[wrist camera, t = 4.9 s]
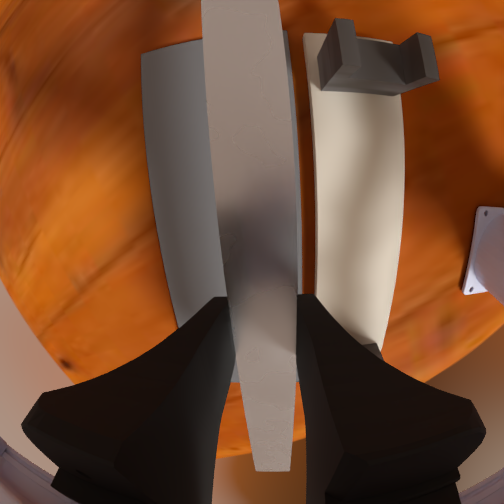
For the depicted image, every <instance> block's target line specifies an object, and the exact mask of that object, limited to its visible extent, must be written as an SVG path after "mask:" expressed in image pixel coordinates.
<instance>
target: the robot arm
mask: <svg viewBox="0 0 504 504" xmlns="http://www.w3.org/2000/svg"><path fill="white" fill-rule="evenodd" d="M484 212H485V214H484ZM470 288H471V289H470ZM486 291H489V292H490V293H491V294H492V295H493V296H494V297H495V298H496V299H497V300H498V301H499V302H500V303H501V304H502V305H504V208H501V207H487V206H479V207H478V208H477V211H476V219H475V227H474V234H473V240H472V246H471V251H470V257H469V262H468V266H467V271H466V275H465V279H464V283H463V287H462V293H463V294H464V295H469V294H475V293H480V292H486ZM235 358H236V353H235V347H234V340H233V333H232V326H231V319H230V312H229V305H228V300H227V296H225V297H213V298H212V299H211V300H210V301H209V302H208V303H206V304H205V305H204V306H203V307H202V308H201V309H200V310H199V311H198V312H197V313H196V314H195V315H193V316H192V317H191V318H190V319H189V320H188V321H187V322H186V323H185V324H183V325H182V326H181V327H180V328H178V329H177V330H176V331H175V332H173V333H172V334H171V335H170V336H168V337H167V338H166V339H165V340H163V341H162V342H161V343H159V344H158V345H156V346H155V347H153V348H152V349H150V350H149V351H147V352H146V353H144V354H142V355H141V356H139V357H137V358H136V359H134V360H132V361H130V362H128V363H126V364H124V365H122V366H120V367H118V368H116V369H114V370H112V371H110V372H108V373H106V374H103V375H101V376H98V377H96V378H93V379H91V380H88V381H85V382H82V383H79V384H76V385H73V386H69V387H65V388H61V389H57V390H53V391H49V392H44V393H42V395H41V396H40V397H39V399H38V400H37V401H36V403H35V404H34V406H33V407H32V409H31V410H30V412H29V413H28V415H27V416H26V418H25V419H24V421H23V422H22V424H21V426H22V429H23V431H24V433H25V435H26V436H27V437H28V438H29V439H30V440H31V442H32V443H33V444H34V445H35V446H36V447H37V448H38V449H39V450H40V451H42V453H44V454H45V455H46V456H47V457H48V458H49V459H50V460H51V461H52V462H53V463H55V464H56V465H57V466H58V467H59V469H58V471H57V473H56V475H55V476H53V475H51V474H49V473H48V472H46V471H45V470H43V469H41V468H40V467H38V466H37V465H35V464H34V463H32V462H31V461H29V460H28V459H26V458H25V457H23V456H22V455H21V454H19V453H18V452H16V451H15V450H14V449H12V448H11V447H10V446H9V445H7V443H6V442H5V441H4V440H3V439H2V438H1V437H0V504H212V490H213V479H214V468H215V460H216V451H217V443H218V435H219V428H220V422H221V417H222V413H223V409H224V405H225V401H226V398H227V394H228V390H229V386H230V382H231V378H232V374H233V370H234V366H235ZM296 365H297V372H298V378H299V384H300V390H301V396H302V402H303V409H304V415H305V425H306V455H307V456H306V462H307V483H306V485H307V486H306V487H307V488H306V504H504V468H502V469H501V470H499V471H498V472H496V473H495V474H493V475H491V476H490V477H488V478H486V479H485V480H483V481H481V482H479V483H478V484H476V485H474V486H472V487H470V488H468V489H467V490H464V491H462V492H460V493H458V490H457V487H456V483H455V482H457V481H458V480H459V479H460V474H459V471H458V468H457V467H458V466H460V465H461V464H462V463H463V462H464V461H465V460H466V459H467V458H468V457H469V456H470V455H471V454H472V453H473V452H474V451H475V450H476V449H477V448H478V446H479V445H480V444H481V443H482V441H483V439H484V437H485V435H486V428H485V426H484V424H483V422H482V420H481V418H480V416H479V414H478V412H477V410H476V408H475V407H474V405H473V403H472V402H471V400H469V399H466V398H463V397H460V396H456V395H453V394H450V393H447V392H444V391H441V390H439V389H436V388H434V387H432V386H429V385H427V384H425V383H423V382H420V381H418V380H416V379H414V378H412V377H410V376H408V375H406V374H405V373H403V372H401V371H399V370H398V369H396V368H394V367H393V366H391V365H389V364H388V363H386V362H385V361H383V360H382V359H380V358H379V357H377V356H376V355H375V354H373V353H372V352H371V351H369V350H368V349H367V348H365V347H364V346H363V345H361V344H360V343H359V342H358V341H357V340H356V339H355V338H353V337H352V336H351V335H350V334H349V333H348V332H347V331H346V330H345V329H344V328H343V327H342V326H341V325H340V324H339V323H338V322H337V321H336V320H335V318H334V317H333V316H332V315H331V314H330V313H329V312H328V311H327V309H326V308H325V307H324V306H323V305H322V303H321V302H320V301H319V300H318V298H317V297H316V296H315V295H314V294H298V299H297V324H296Z"/></svg>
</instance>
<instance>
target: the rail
mask: <svg viewBox="0 0 504 504" xmlns="http://www.w3.org/2000/svg"><path fill="white" fill-rule="evenodd" d="M201 10H202V34H203V54H204V71H205V87H206V101H207V114H208V126H209V138H210V150H211V161H212V171H213V181H214V191H215V201H216V210H217V219H218V228H219V236H220V245H221V253H222V261H223V269H224V277H225V285H226V292H227V300H228V305H229V312H230V319H231V326H232V333H233V340H234V347H235V353H236V361H237V368H238V374H239V380H240V386H241V392H242V398H243V404H244V410H245V416H246V421H247V427H248V432H249V438H250V443H251V449H252V454H253V459H254V464H255V469H256V471H290V462H291V450H292V437H293V423H294V407H295V388H296V324H297V299H298V253H297V212H296V187H295V167H294V150H293V134H292V121H291V108H290V97H289V86H288V76H287V66H286V57H285V48H284V40H283V32H282V24H281V17H280V10H279V3H278V0H201Z"/></svg>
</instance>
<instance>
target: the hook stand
mask: <svg viewBox="0 0 504 504" xmlns="http://www.w3.org/2000/svg"><path fill="white" fill-rule="evenodd" d="M302 40H303V47H304V55H305V63H306V72H307V81H308V91H309V102H310V114H311V127H312V142H313V160H314V185H315V291H314V295H315V296H316V297H317V298H318V300H319V301H320V302H321V303H322V305H323V306H324V307H325V308H326V309H327V311H328V312H329V313H330V314H331V315H332V316H333V317H334V318H335V320H336V321H337V322H338V323H339V324H340V325H341V326H342V327H343V328H344V329H345V330H346V331H347V332H348V333H349V334H350V335H351V336H352V337H353V338H355V339H356V340H357V341H358V342H359V343H360V344H361V345H363V346H364V347H365V348H367V349H368V350H369V351H371V352H372V353H373V354H375V355H376V356H377V357H379V358H380V359H382V360H383V357H382V355H381V348H382V344H383V340H384V336H385V332H386V328H387V323H388V319H389V314H390V309H391V304H392V298H393V293H394V287H395V281H396V275H397V268H398V260H399V252H400V244H401V234H402V222H403V207H404V180H405V155H404V128H403V114H402V103H401V93H404V92H406V91H409V90H412V89H415V88H418V87H421V86H424V85H427V84H430V83H433V82H436V81H439V80H440V79H439V73H438V67H437V62H436V57H435V52H434V48H433V43H432V39H431V36H428V35H425V34H421V33H418V32H417V33H415V34H414V35H412V36H411V37H410V38H408V39H407V40H406V41H404V42H403V43H401V44H400V45H396V44H393V43H392V42H391V41H385V40H379V39H373V38H366V37H358V36H356V32H355V27H354V22H353V20H349V19H339V18H335V19H334V21H333V24H332V26H331V28H330V30H329V32H328V34H322V33H304V35H303V39H302ZM383 361H384V360H383Z"/></svg>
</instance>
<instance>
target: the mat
mask: <svg viewBox="0 0 504 504" xmlns="http://www.w3.org/2000/svg"><path fill="white" fill-rule="evenodd" d="M282 32H283V40H284V48H285V57H286V66H287V76H288V86H289V97H290V108H291V121H292V134H293V150H294V167H295V187H296V212H297V253H298V294H302V227H301V194H300V171H299V153H298V137H297V123H296V111H295V99H294V88H293V78H292V69H291V60H290V51H289V43H288V35H287V30H282ZM141 83H142V105H143V121H144V134H145V145H146V155H147V164H148V172H149V180H150V188H151V195H152V202H153V208H154V214H155V221H156V226H157V232H158V238H159V243H160V248H161V254H162V259H163V264H164V268H165V273H166V278H167V282H168V287H169V291H170V295H171V300H172V304H173V308H174V312H175V316H176V320H177V324H178V327H179V328H180V327H181V326H182V325H183V324H185V323H186V322H187V321H188V320H189V319H190V318H191V317H192V316H193V315H195V314H196V313H197V312H198V311H199V310H200V309H201V308H202V307H203V306H204V305H205V304H206V303H208V302H209V301H210V300H211V299H212V298H213V297H225V296H227V292H226V285H225V277H224V269H223V261H222V253H221V245H220V236H219V228H218V219H217V210H216V201H215V191H214V181H213V171H212V161H211V150H210V138H209V126H208V114H207V101H206V87H205V71H204V54H203V39H200V40H195V41H190V42H185V43H181V44H176V45H172V46H168V47H164V48H161V49H157V50H153V51H150V52H147V53H143V54H141ZM231 382H240V380H239V374H238V368H237V361H236V358H235V366H234V370H233V374H232V378H231ZM296 382H299V378H298V372H297V365H296Z"/></svg>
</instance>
